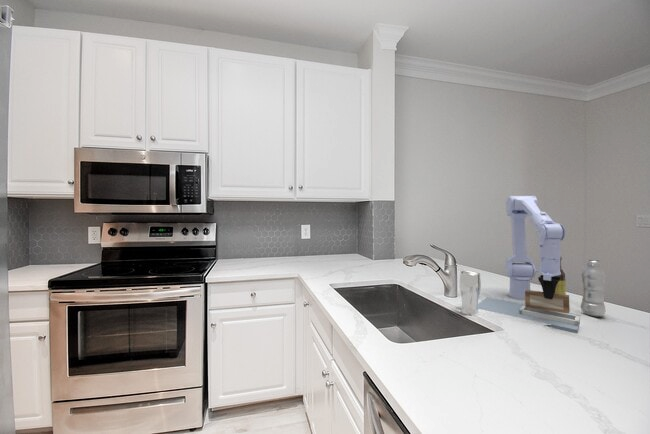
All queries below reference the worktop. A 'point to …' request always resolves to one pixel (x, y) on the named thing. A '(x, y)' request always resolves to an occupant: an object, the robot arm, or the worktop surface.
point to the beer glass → (470, 291)
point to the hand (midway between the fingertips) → (549, 297)
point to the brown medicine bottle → (561, 282)
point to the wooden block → (547, 301)
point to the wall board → (533, 314)
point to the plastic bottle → (593, 289)
